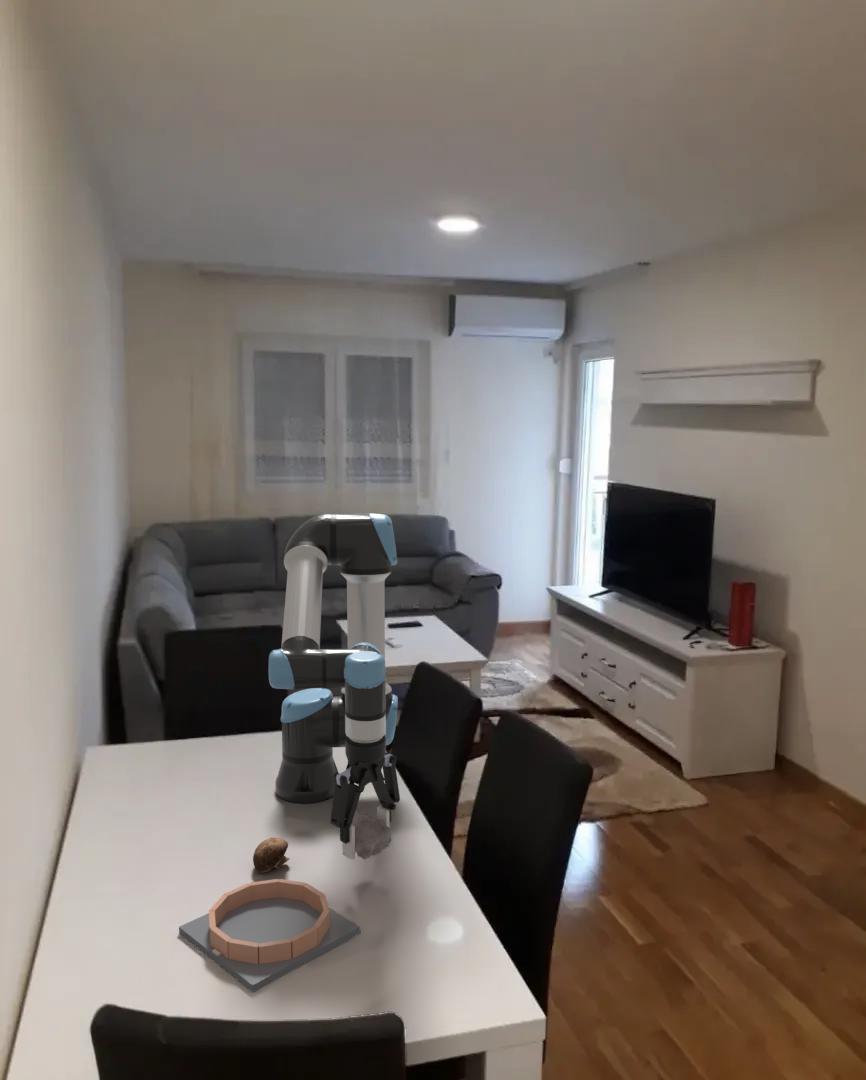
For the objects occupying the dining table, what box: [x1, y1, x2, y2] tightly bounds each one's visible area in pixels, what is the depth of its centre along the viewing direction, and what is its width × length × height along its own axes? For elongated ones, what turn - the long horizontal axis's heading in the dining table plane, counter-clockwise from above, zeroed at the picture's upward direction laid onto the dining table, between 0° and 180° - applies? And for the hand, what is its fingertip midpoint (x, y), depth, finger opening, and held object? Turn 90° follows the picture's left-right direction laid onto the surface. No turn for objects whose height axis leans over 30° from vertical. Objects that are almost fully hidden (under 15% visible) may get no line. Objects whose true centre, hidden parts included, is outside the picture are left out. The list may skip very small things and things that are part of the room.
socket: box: [178, 878, 361, 993], centre depth 156 cm, size 22×22×4 cm
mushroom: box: [252, 837, 291, 874], centre depth 178 cm, size 8×8×6 cm
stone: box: [351, 810, 393, 860], centre depth 173 cm, size 10×8×6 cm
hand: (366, 847), depth 173 cm, fingers closed on stone, 8 cm apart
